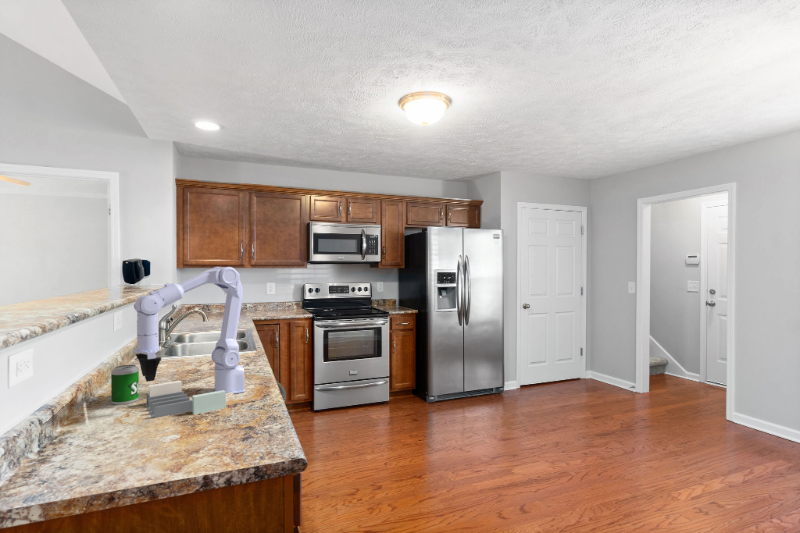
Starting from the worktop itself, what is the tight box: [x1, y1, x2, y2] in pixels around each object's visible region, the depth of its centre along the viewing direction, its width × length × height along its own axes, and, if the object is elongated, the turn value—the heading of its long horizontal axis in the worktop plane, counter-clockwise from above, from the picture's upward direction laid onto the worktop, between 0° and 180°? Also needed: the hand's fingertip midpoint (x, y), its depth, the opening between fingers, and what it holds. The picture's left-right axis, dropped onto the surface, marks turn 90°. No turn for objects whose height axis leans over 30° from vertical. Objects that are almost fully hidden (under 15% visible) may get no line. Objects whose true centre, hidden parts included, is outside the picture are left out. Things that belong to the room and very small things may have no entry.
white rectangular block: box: [148, 380, 183, 397], centre depth 136 cm, size 9×2×6 cm, turn 128°
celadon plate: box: [191, 390, 227, 416], centre depth 128 cm, size 9×2×6 cm, turn 128°
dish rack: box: [144, 390, 192, 419], centre depth 131 cm, size 11×16×4 cm
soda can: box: [110, 364, 140, 406], centre depth 137 cm, size 8×8×12 cm
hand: (148, 378), depth 131 cm, fingers open, 7 cm apart
